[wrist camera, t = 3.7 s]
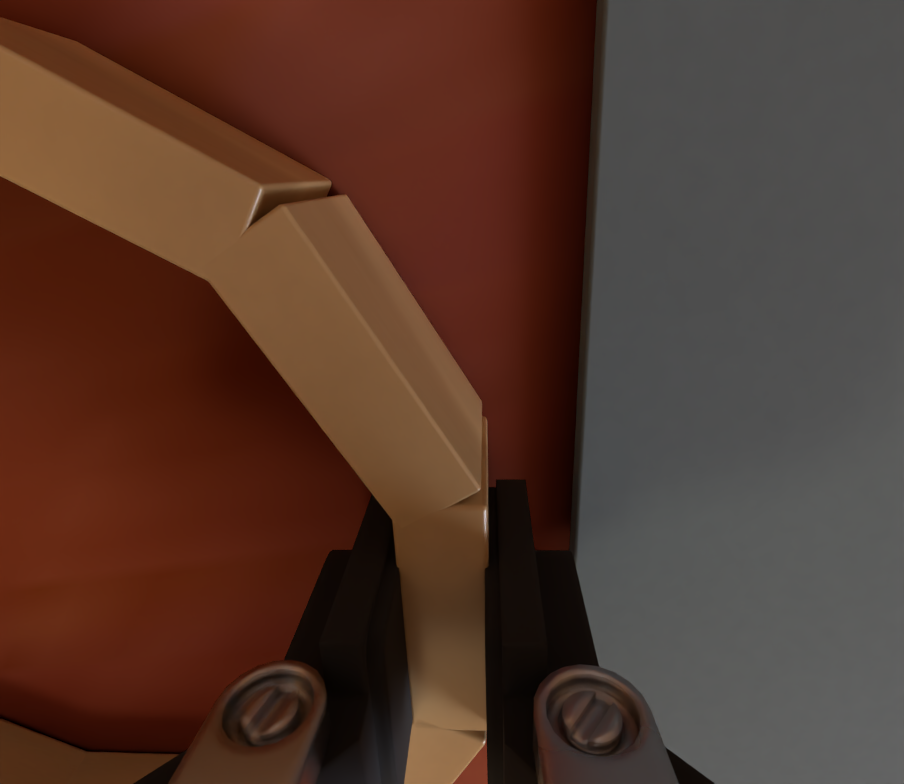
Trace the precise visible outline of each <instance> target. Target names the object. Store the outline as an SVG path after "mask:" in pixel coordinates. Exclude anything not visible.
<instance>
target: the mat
mask: <svg viewBox="0 0 904 784" xmlns="http://www.w3.org/2000/svg"><path fill="white" fill-rule="evenodd" d="M569 551H571V552H572V554H573V557H574V561H575V565H576V570H577V574H578V578H579V582H580V587H581V591H582V595H583V600H584V604H585V608H586V612H587V617H588V621H589V625H590V629H591V634H592V638H593V642H594V647H595V651H596V655H597V659H598V664H599V667H601V668H604V669H607V670H610V671H613V672H615V673H617V674H618V675H620V676H621V677H623V678H625V679H626V680H628V681H629V682H630V683H631V684H632V685H633V686H634V687H635V688H636V689H637V690H638V691H639V692H640V693H641V694H642V695H643V697H644V698H645V700H646V702H647V704H648V706H649V707H650V709H651V711H652V714H653V717H654V719H655V722H656V724H657V727H658V730H659V732H660V735H661V738H662V740H663V743H664V746H665V747H666V748H667V749H669V750H670V751H672V752H673V753H674V754H676V755H677V756H678V757H680V758H681V759H682V760H684V761H685V762H686V763H688V764H689V765H691V766H692V767H693V768H695V769H696V770H697V771H699V772H700V773H701V774H703V775H704V776H705V777H707V778H708V779H710V780H711V781H712V782H714V783H715V784H904V0H597V12H596V31H595V51H594V71H593V91H592V111H591V130H590V150H589V170H588V190H587V210H586V230H585V249H584V269H583V289H582V309H581V329H580V348H579V368H578V388H577V408H576V428H575V448H574V467H573V487H572V507H571V527H570V547H569Z"/></svg>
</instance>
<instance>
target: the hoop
mask: <svg viewBox="0 0 904 784" xmlns="http://www.w3.org/2000/svg"><path fill="white" fill-rule="evenodd" d="M0 176H1V177H3V178H5V179H7V180H9V181H11V182H13V183H15V184H17V185H19V186H21V187H23V188H25V189H27V190H29V191H31V192H33V193H35V194H36V195H38V196H40V197H42V198H44V199H46V200H48V201H50V202H52V203H54V204H56V205H58V206H60V207H62V208H64V209H66V210H68V211H70V212H72V213H74V214H76V215H78V216H80V217H82V218H84V219H86V220H88V221H90V222H92V223H94V224H96V225H98V226H100V227H102V228H104V229H106V230H108V231H110V232H112V233H114V234H116V235H118V236H120V237H122V238H124V239H126V240H127V241H129V242H131V243H133V244H135V245H137V246H139V247H141V248H143V249H145V250H147V251H149V252H151V253H153V254H155V255H157V256H159V257H161V258H163V259H165V260H167V261H169V262H171V263H173V264H175V265H177V266H179V267H181V268H183V269H185V270H187V271H189V272H191V273H193V274H195V275H197V276H199V277H201V278H203V279H205V280H207V281H208V282H209V283H210V284H211V286H212V287H213V288H214V290H215V291H216V292H217V293H218V295H219V296H220V297H221V299H222V300H223V301H224V303H225V304H226V305H227V306H228V308H229V309H230V310H231V312H232V313H233V314H234V316H235V317H236V318H237V319H238V321H239V322H240V323H241V325H242V326H243V327H244V328H245V330H246V331H247V332H248V334H249V335H250V336H251V338H252V339H253V340H254V341H255V343H256V344H257V345H258V347H259V348H260V349H261V351H262V352H263V353H264V354H265V356H266V357H267V358H268V360H269V361H270V362H271V363H272V365H273V366H274V367H275V369H276V370H277V371H278V373H279V374H280V375H281V376H282V378H283V379H284V380H285V382H286V383H287V384H288V386H289V387H290V388H291V389H292V391H293V392H294V393H295V395H296V396H297V397H298V399H299V400H300V401H301V402H302V404H303V405H304V406H305V408H306V409H307V410H308V411H309V413H310V414H311V415H312V417H313V418H314V419H315V421H316V422H317V423H318V424H319V426H320V427H321V428H322V430H323V431H324V432H325V434H326V435H327V436H328V437H329V439H330V440H331V441H332V443H333V444H334V445H335V446H336V448H337V449H338V450H339V452H340V453H341V454H342V456H343V457H344V458H345V459H346V461H347V462H348V463H349V465H350V466H351V467H352V469H353V470H354V471H355V472H356V474H357V475H358V476H359V478H360V479H361V480H362V481H363V483H364V484H365V485H366V487H367V488H368V489H369V491H370V492H371V493H372V494H373V496H374V497H375V498H376V500H377V501H378V502H379V504H380V505H381V506H382V507H383V509H384V510H385V511H386V513H387V514H388V515H389V517H390V518H391V519H392V524H393V535H394V545H395V556H396V565H397V567H398V568H399V573H400V584H401V595H402V606H403V617H404V628H405V640H406V651H407V662H408V673H409V684H410V695H411V707H412V718H413V720H412V728H411V735H410V743H409V751H408V758H407V766H406V773H405V781H404V784H453V783H454V781H455V780H456V779H457V778H458V777H459V775H460V774H461V773H462V772H463V770H464V769H465V768H466V767H467V765H468V764H469V763H470V762H471V761H472V759H473V758H474V757H475V756H476V754H477V753H478V752H479V751H480V750H481V748H482V747H483V746H484V745H485V742H486V731H487V722H486V676H485V568H487V567H488V566H489V506H488V436H487V419H486V417H484V416H482V401H481V399H480V398H479V396H478V395H477V393H476V392H475V390H474V389H473V387H472V386H471V384H470V383H469V381H468V379H467V378H466V376H465V375H464V373H463V372H462V370H461V369H460V367H459V366H458V364H457V363H456V361H455V360H454V358H453V357H452V355H451V354H450V352H449V350H448V349H447V347H446V346H445V344H444V343H443V341H442V340H441V338H440V337H439V335H438V334H437V332H436V331H435V329H434V328H433V326H432V325H431V323H430V321H429V320H428V318H427V317H426V315H425V314H424V312H423V311H422V309H421V308H420V306H419V305H418V303H417V302H416V300H415V299H414V297H413V296H412V294H411V292H410V291H409V289H408V288H407V286H406V285H405V283H404V282H403V280H402V279H401V277H400V276H399V274H398V273H397V271H396V270H395V268H394V267H393V265H392V263H391V262H390V260H389V259H388V257H387V256H386V254H385V253H384V251H383V250H382V248H381V247H380V245H379V244H378V242H377V241H376V239H375V238H374V236H373V234H372V233H371V231H370V230H369V228H368V227H367V225H366V224H365V222H364V221H363V219H362V218H361V216H360V215H359V213H358V212H357V210H356V209H355V207H354V205H353V204H352V202H351V201H350V199H349V198H348V196H347V195H345V194H342V195H335V196H329V197H327V195H328V192H329V190H330V187H331V181H330V180H329V179H328V178H326V177H324V176H322V175H321V174H319V173H317V172H315V171H313V170H311V169H310V168H308V167H306V166H304V165H302V164H300V163H299V162H297V161H295V160H293V159H291V158H289V157H288V156H286V155H284V154H282V153H280V152H278V151H277V150H275V149H273V148H271V147H269V146H267V145H266V144H264V143H262V142H260V141H258V140H256V139H255V138H253V137H251V136H249V135H247V134H245V133H244V132H242V131H240V130H238V129H236V128H234V127H233V126H231V125H229V124H227V123H225V122H223V121H222V120H220V119H218V118H216V117H214V116H212V115H211V114H209V113H207V112H205V111H203V110H201V109H200V108H198V107H196V106H194V105H192V104H190V103H189V102H187V101H185V100H183V99H181V98H179V97H178V96H176V95H174V94H172V93H170V92H168V91H167V90H165V89H163V88H161V87H159V86H157V85H156V84H154V83H152V82H150V81H148V80H146V79H145V78H143V77H141V76H139V75H137V74H135V73H134V72H132V71H130V70H128V69H126V68H124V67H123V66H121V65H119V64H117V63H115V62H113V61H112V60H110V59H108V58H106V57H104V56H102V55H101V54H99V53H97V52H95V51H93V50H91V49H90V48H88V47H86V46H84V45H82V44H80V43H79V42H77V41H74V40H71V39H68V38H64V37H61V36H58V35H55V34H52V33H49V32H46V31H43V30H39V29H36V28H33V27H30V26H27V25H24V24H21V23H17V22H14V21H11V20H8V19H5V18H2V17H0ZM177 755H179V754H159V753H121V752H87V751H85V750H82V749H79V748H77V747H74V746H71V745H69V744H66V743H64V742H61V741H58V740H56V739H53V738H51V737H48V736H45V735H43V734H40V733H37V732H35V731H32V730H30V729H27V728H24V727H22V726H19V725H16V724H14V723H11V722H9V721H6V720H3V719H1V718H0V784H133V783H135V782H136V781H138V780H140V779H141V778H143V777H144V776H146V775H147V774H149V773H151V772H152V771H154V770H155V769H157V768H158V767H160V766H162V765H163V764H165V763H166V762H168V761H170V760H171V759H173V758H174V757H176V756H177Z"/></svg>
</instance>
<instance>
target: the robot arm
mask: <svg viewBox="0 0 904 784" xmlns="http://www.w3.org/2000/svg"><path fill="white" fill-rule="evenodd" d="M488 506H489V566H488V567H487V568H485V676H486V722H487V769H488V784H715V783H714V782H712V781H711V780H710V779H708V778H707V777H705V776H704V775H703V774H701V773H700V772H699V771H697V770H696V769H695V768H693V767H692V766H691V765H689V764H688V763H686V762H685V761H684V760H682V759H681V758H680V757H678V756H677V755H676V754H674V753H673V752H672V751H670V750H669V749H667V748H666V747H665V746H664V743H663V740H662V738H661V735H660V732H659V730H658V727H657V724H656V722H655V719H654V717H653V714H652V711H651V709H650V707H649V706H648V704H647V702H646V700H645V698H644V697H643V695H642V694H641V693H640V692H639V691H638V690H637V689H636V688H635V687H634V686H633V685H632V684H631V683H630V682H629V681H628V680H626V679H625V678H623V677H621V676H620V675H618V674H617V673H615V672H613V671H610V670H607V669H604V668H601V667H599V664H598V659H597V655H596V651H595V647H594V642H593V638H592V634H591V629H590V625H589V621H588V617H587V612H586V608H585V604H584V600H583V595H582V591H581V587H580V582H579V578H578V574H577V570H576V565H575V561H574V557H573V554H572V552H571V551H556V550H535V548H534V540H533V533H532V526H531V518H530V511H529V503H528V496H527V488H526V481H525V480H496V487H488ZM412 720H413V718H412V707H411V695H410V684H409V673H408V662H407V651H406V640H405V628H404V617H403V606H402V595H401V584H400V573H399V568H398V567H397V565H396V556H395V545H394V535H393V524H392V519H391V518H390V517H389V515H388V514H387V513H386V511H385V510H384V509H383V507H382V506H381V505H380V504H379V502H378V501H377V500H376V498H375V497H374V496H373V494H372V496H371V499H370V502H369V504H368V507H367V510H366V513H365V516H364V518H363V521H362V524H361V527H360V530H359V532H358V535H357V538H356V541H355V544H354V546H353V549H352V550H332V551H331V552H330V553H329V554H328V556H327V558H326V561H325V563H324V565H323V568H322V570H321V573H320V575H319V577H318V580H317V582H316V584H315V587H314V589H313V592H312V594H311V596H310V599H309V601H308V604H307V606H306V608H305V611H304V613H303V616H302V618H301V620H300V623H299V625H298V628H297V630H296V632H295V635H294V637H293V640H292V642H291V644H290V647H289V649H288V652H287V654H286V656H285V659H284V660H280V661H272V662H269V663H266V664H262V665H259V666H256V667H254V668H253V669H251V670H249V671H247V672H245V673H243V674H242V675H240V676H239V677H238V678H237V679H235V680H234V681H233V682H232V683H231V684H229V685H228V686H227V687H226V688H225V690H224V691H223V692H222V694H221V695H220V696H219V698H218V699H217V700H216V702H215V703H214V705H213V707H212V708H211V710H210V712H209V714H208V715H207V717H206V719H205V721H204V722H203V724H202V726H201V728H200V729H199V731H198V733H197V734H196V736H195V738H194V740H193V741H192V743H191V745H190V747H189V748H188V749H187V750H185V751H184V752H182V753H181V754H179V755H177V756H176V757H174V758H173V759H171V760H170V761H168V762H166V763H165V764H163V765H162V766H160V767H158V768H157V769H155V770H154V771H152V772H151V773H149V774H147V775H146V776H144V777H143V778H141V779H140V780H138V781H136V782H135V783H133V784H404V781H405V773H406V766H407V758H408V751H409V743H410V735H411V728H412Z"/></svg>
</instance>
